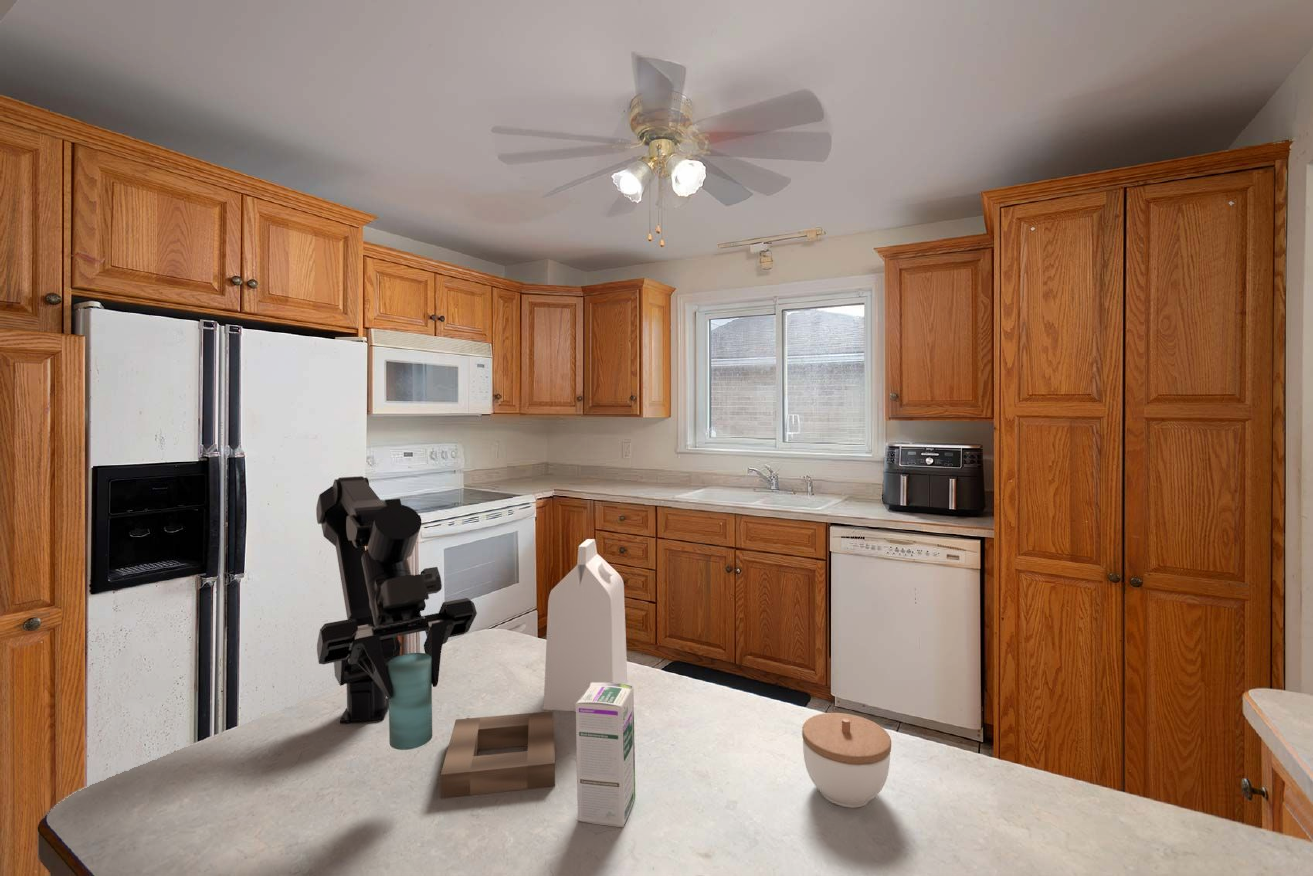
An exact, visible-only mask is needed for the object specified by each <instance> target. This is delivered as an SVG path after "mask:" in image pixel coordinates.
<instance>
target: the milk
mask: <svg viewBox="0 0 1313 876" xmlns="http://www.w3.org/2000/svg"><path fill="white" fill-rule="evenodd" d="M577 549H578V550H577V563H576V565H575V566H574V568H572V569H571V571H569V572H568V573H567V574H566V575H565V576H564V577H563V578H562V579H561V580H560V581H559V582H558V583H557V584H556V585H555V586H554V587H553V588H552V589H551V590H550V593H549V595H548V599H547V600H548V601H547V618H546V619H547V620H546V626H547V627H546V643H545V645H546V646H545V665H544V667H545V668H544V670H545V671H544V687H543V689H544V690H543V691H544V692H543V710H547V711H548V710H550V711H562V712H576V703H577V702H578V700H579V699H580V697H581V696H582V694H583V693H584V692H585V691H586V690H587V688H588V687H589V686H590V684H591V682H593V683H618V684H624V685H628V684H627V683H628V664H627V663H628V659H627V638H626V637H627V634H626V609H625V607H626V605H625V584H624V580H623V577H622V576H621V575H620V573H618V571H617V570H616V569H615V568H613V567H612V566H611V564H609V563H608V562H607V561H606V559H604V558H603V557H602V556H601V555H600V554H598V551H597V550H598V549H597V544H596V539H595V538H592V539H591V538H588V539H587V538H586V539H585V541H583V542H582V543H581V544H579V546H578V548H577Z"/></svg>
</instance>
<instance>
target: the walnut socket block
mask: <svg viewBox="0 0 1313 876" xmlns="http://www.w3.org/2000/svg"><path fill="white" fill-rule="evenodd" d="M554 730H555V729H554V710H550V711H548V710H547V711H540V712H538V711H537V712H528V713H527V712H526V713H517V714H514V713H513V714H504V715H492V716H483V717H482V716H480V717H479V716H478V717H470V718H457V719H455V721H454V725H453V728H452V733H451V735H450V738H449V742H448V747H447V750H446V754H445V758H444V760H443V761H444V762H443V765H442V768H441V772H440V798H441V799H445V798H447V799H448V798H455V797H457V798H458V797H463V796H473V795H474V796H475V795H483V794H491V793H493V794H495V793H503V792H510V791H518V790H519V791H521V790H529V789H531V790H532V789H538V788H539V789H540V788H547V787H549V788H550V787H555V786H556V761H555V760H556V759H555V758H556V753H555V734H554V733H555V731H554ZM523 746H527V750H526V751H514V752H513V751H512V752H504V753H496V754H483V755H479V754H478V753H479V751H480V750H481V751H482V750H492V749H503V748H513V747H523Z"/></svg>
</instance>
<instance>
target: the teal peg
mask: <svg viewBox="0 0 1313 876" xmlns="http://www.w3.org/2000/svg"><path fill="white" fill-rule="evenodd" d="M388 674H389V677H390V680H391V685H392V691H393V696H392V698H390V699H389V710H388V722H389V723H388V727H389V728H388V729H389V733H388V734H389V741H388V742H389V746H390V747H391V748H392V749H395V750H399V751H407V750H414V749H418V748H421V747H422V746H425V745H426V744H428V743H429V742H430V741H431V740H432V739H433V689H432V688H433V685H432V670H431V656H430V655H428V654H425V652H410V653H404V654H400V656H397V657H395V658H393V659H391V660H390V661H389V663H388Z"/></svg>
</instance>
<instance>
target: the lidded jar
mask: <svg viewBox="0 0 1313 876" xmlns="http://www.w3.org/2000/svg"><path fill="white" fill-rule="evenodd" d="M801 735H802V751H803V752H802V753H803V759H804V765H805V768H806V771H807V774H808V776H809V778H810V780H811V782H812V783H813V784H814V786H815V787H816V789H818V791H820V793H821V795H822V797H823V798H824V799H826V801H828V802H830V803H832V804H834V805H836V806H839V807H842V808H846V809H847V808H848V809H849V808H850V809H854V808H856V809H857V808H861V807H865V806H866V805H868V804H869V802H870V801H871V800H873V799H875V797H877V796H878V795H879V793H880V792H881V791H882V790H883V789H884V786H885V784H886V781H887V779H888V776H889V772H890V771H889V770H890V765H891V764H890V762H891V761H890V760H891V751H892V739H891V736H890V735H889V733H888V732H887V731H886V729H885V728H883V727H882V725H879V724H878V723H876V722H874V721H873V720H870V719H868V718H865V717H863V716H859V715H854V714H851V713H841V712H827V713H820V714H816V715H813V716H811V717H809V718H808V719H806V721H804V723H803V725H802V729H801Z"/></svg>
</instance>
